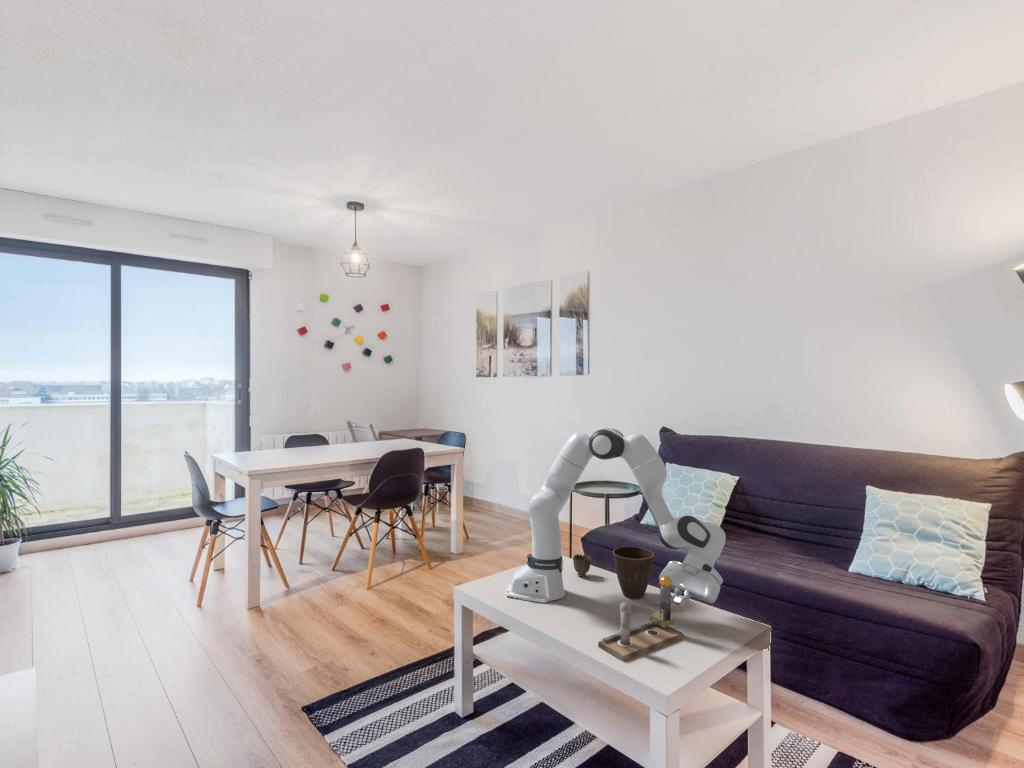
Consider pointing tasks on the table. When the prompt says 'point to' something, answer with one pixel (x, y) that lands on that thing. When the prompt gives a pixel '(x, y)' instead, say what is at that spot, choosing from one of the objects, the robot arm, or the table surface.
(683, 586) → the robot arm
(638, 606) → the table surface
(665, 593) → the sliding leg
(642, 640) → the wooden peg board
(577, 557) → the cup
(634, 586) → the plant pot
